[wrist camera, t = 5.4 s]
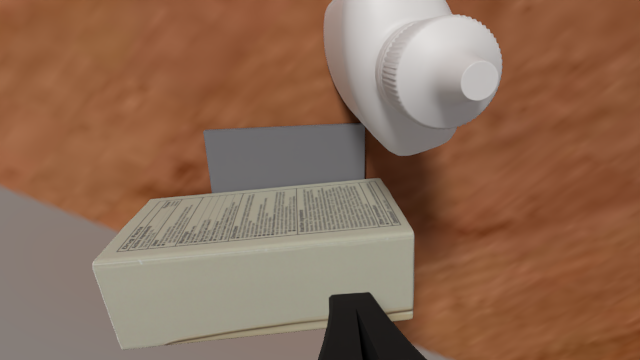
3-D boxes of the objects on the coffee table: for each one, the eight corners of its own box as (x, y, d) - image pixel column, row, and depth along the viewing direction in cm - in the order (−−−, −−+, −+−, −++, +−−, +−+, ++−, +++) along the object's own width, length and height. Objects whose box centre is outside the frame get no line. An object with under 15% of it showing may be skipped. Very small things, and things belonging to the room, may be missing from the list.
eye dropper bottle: (308, 108, 19) (331, 205, 7) (329, -15, 17) (403, -139, 5) (391, 123, 19) (533, 234, 8) (420, 5, 17) (660, -71, 6)
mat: (362, 221, 21) (363, 224, 20) (219, 229, 20) (217, 233, 20) (363, 122, 19) (364, 124, 19) (205, 129, 19) (203, 131, 18)
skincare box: (384, 245, 21) (170, 267, 21) (382, 172, 19) (150, 195, 19) (417, 325, 15) (119, 357, 15) (418, 229, 14) (84, 263, 13)
